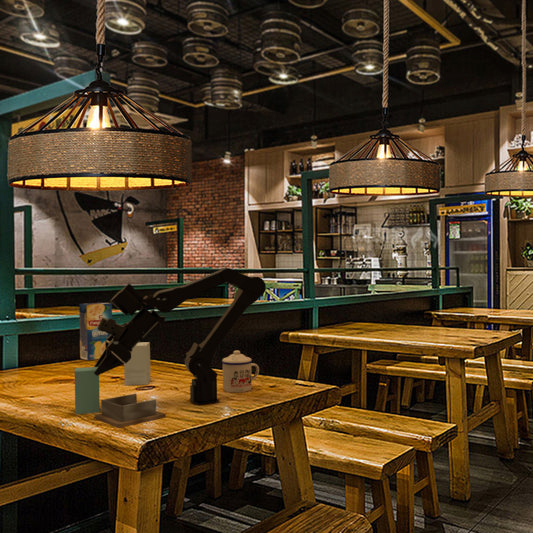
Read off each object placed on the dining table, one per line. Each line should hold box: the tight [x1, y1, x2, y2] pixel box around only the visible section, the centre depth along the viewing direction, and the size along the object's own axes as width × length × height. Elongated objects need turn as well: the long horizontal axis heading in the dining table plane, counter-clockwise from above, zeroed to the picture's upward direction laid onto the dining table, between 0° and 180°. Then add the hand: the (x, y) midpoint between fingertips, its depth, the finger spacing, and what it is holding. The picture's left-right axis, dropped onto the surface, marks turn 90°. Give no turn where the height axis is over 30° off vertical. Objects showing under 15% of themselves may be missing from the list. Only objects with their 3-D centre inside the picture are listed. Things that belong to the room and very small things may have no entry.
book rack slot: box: [93, 393, 166, 429], centre depth 147 cm, size 13×12×4 cm
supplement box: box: [123, 341, 152, 386], centre depth 189 cm, size 7×7×13 cm
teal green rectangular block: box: [74, 366, 101, 415], centre depth 154 cm, size 6×5×11 cm
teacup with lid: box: [221, 350, 260, 393], centre depth 178 cm, size 12×9×12 cm
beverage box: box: [78, 302, 113, 361], centre depth 241 cm, size 7×11×22 cm, turn 133°
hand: (95, 371), depth 155 cm, fingers open, 9 cm apart
